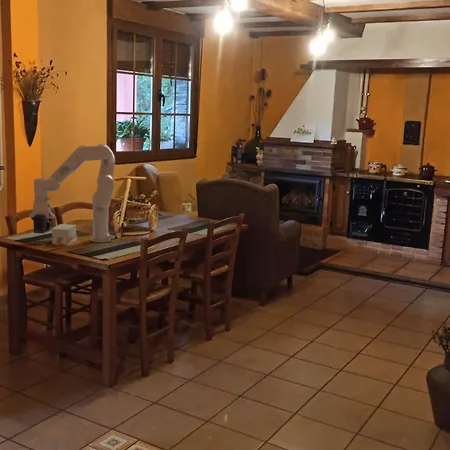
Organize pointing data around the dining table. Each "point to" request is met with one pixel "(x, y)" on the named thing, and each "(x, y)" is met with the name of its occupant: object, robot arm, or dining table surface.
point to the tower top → (64, 230)
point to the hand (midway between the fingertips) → (42, 227)
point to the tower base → (64, 240)
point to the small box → (40, 224)
